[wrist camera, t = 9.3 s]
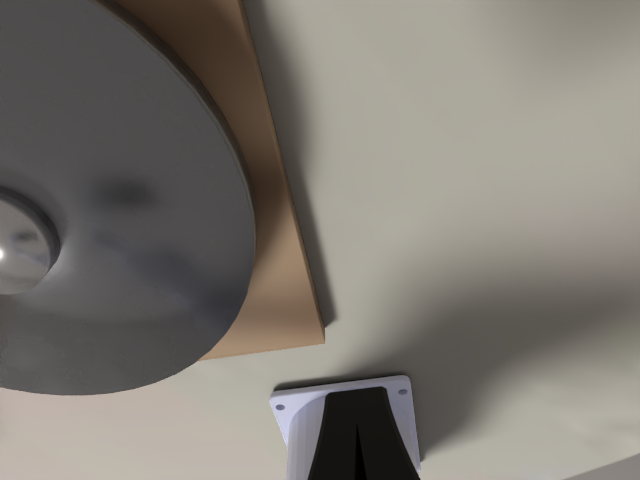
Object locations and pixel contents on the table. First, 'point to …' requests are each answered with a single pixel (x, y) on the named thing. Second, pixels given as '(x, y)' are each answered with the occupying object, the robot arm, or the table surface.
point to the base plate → (264, 165)
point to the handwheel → (112, 203)
